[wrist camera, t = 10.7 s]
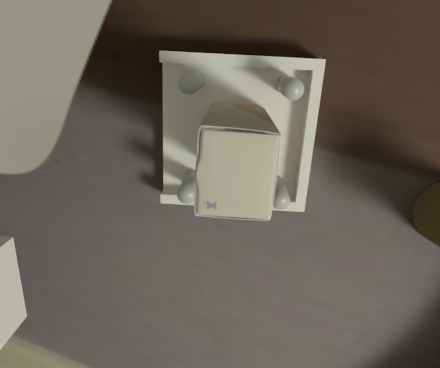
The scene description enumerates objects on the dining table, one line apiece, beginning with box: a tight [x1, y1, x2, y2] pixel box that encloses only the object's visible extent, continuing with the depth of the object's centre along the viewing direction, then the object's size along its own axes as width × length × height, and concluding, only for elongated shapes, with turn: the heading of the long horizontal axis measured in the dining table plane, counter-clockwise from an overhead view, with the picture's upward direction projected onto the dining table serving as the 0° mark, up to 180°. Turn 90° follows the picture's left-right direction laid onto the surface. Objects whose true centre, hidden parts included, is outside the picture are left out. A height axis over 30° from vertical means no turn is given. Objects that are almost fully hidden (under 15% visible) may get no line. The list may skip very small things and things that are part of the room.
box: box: [194, 103, 282, 221], centre depth 24 cm, size 5×4×11 cm
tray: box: [159, 51, 326, 212], centre depth 27 cm, size 12×12×5 cm
